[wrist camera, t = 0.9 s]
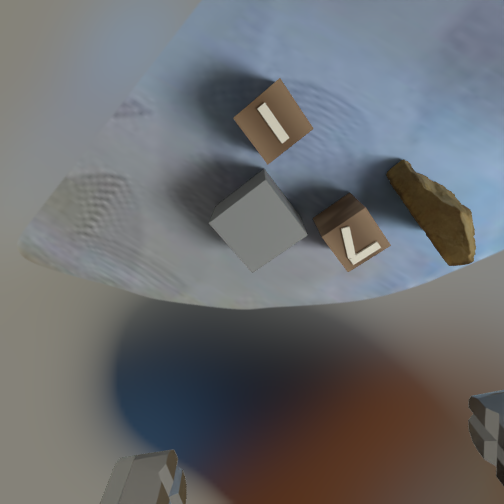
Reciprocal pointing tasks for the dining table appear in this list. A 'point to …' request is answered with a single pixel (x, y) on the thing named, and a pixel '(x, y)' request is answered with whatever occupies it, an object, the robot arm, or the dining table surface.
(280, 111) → the walnut block one
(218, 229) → the grey block
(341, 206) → the walnut block seven
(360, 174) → the dining table surface
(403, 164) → the rock
